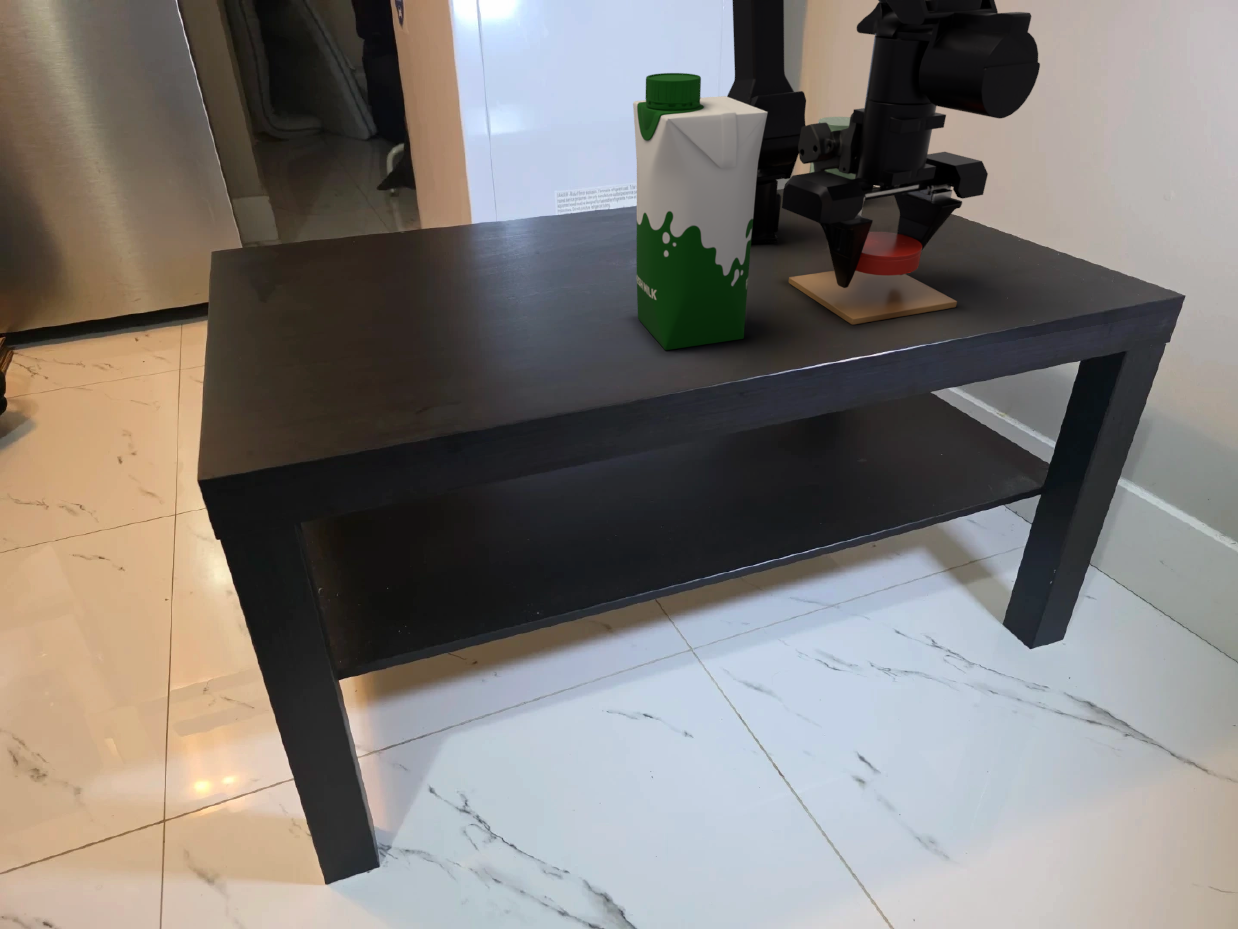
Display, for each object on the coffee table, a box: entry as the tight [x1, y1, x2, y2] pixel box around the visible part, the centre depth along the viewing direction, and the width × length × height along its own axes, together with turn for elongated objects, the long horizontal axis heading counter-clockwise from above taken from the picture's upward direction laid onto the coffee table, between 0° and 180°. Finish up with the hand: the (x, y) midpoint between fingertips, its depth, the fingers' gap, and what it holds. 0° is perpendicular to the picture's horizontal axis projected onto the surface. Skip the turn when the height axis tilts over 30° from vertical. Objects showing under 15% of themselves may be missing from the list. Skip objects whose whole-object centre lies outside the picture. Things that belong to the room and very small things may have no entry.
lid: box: [855, 231, 923, 276], centre depth 74 cm, size 7×7×2 cm
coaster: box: [788, 270, 958, 326], centre depth 76 cm, size 11×11×1 cm
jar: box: [808, 116, 855, 179], centre depth 101 cm, size 6×6×10 cm
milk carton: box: [632, 72, 768, 351], centre depth 65 cm, size 9×9×20 cm
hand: (871, 279), depth 76 cm, fingers closed on lid, 6 cm apart
